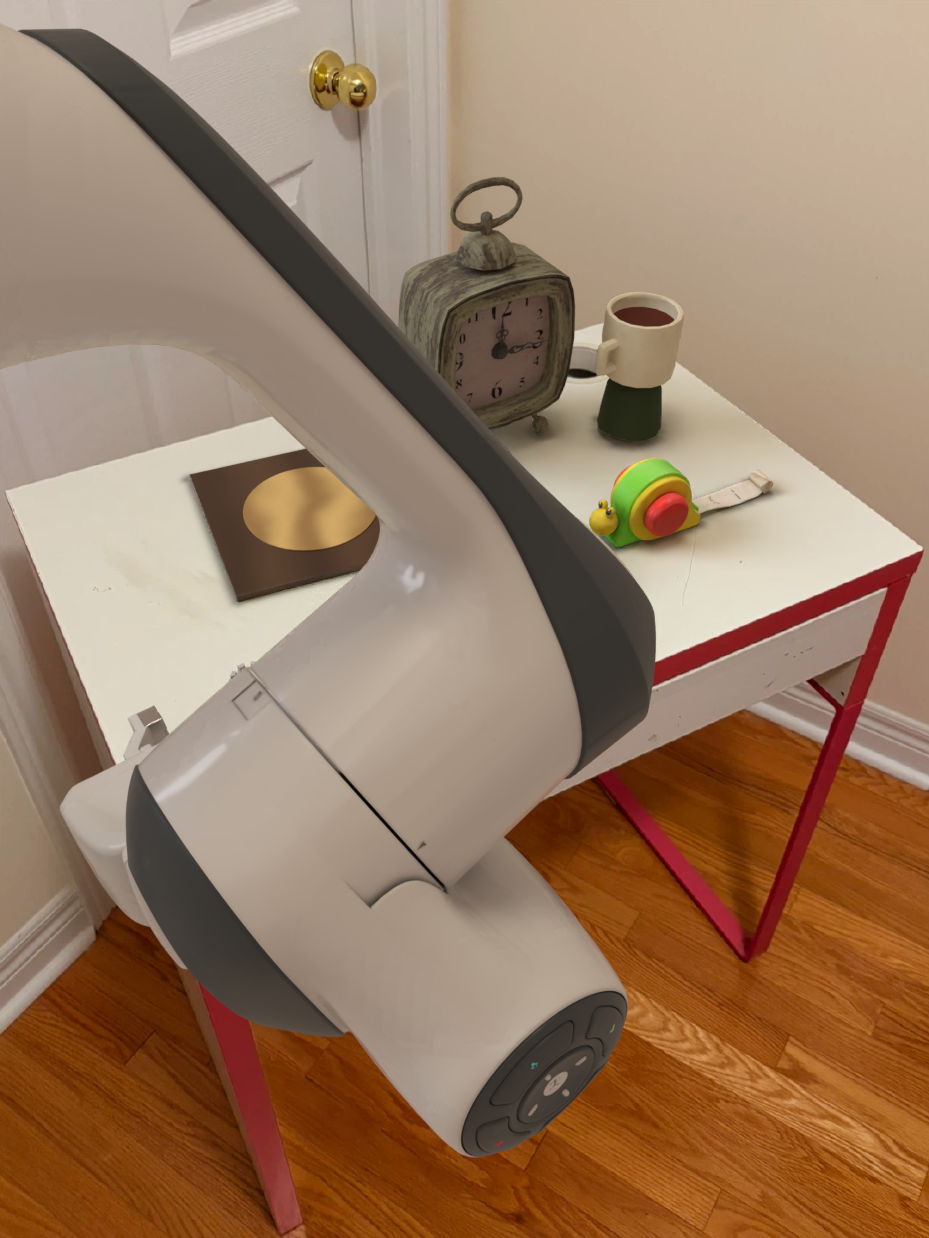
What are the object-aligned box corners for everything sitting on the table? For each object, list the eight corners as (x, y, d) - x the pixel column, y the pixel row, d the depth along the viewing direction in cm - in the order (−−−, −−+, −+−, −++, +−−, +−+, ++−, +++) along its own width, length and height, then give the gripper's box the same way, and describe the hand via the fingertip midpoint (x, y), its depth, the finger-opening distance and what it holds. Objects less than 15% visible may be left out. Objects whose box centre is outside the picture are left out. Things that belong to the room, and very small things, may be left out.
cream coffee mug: (641, 396, 109) (658, 278, 100) (691, 427, 105) (714, 307, 96) (563, 432, 104) (574, 312, 95) (613, 466, 100) (629, 343, 91)
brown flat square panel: (237, 602, 86) (236, 595, 85) (190, 479, 98) (189, 473, 97) (441, 548, 91) (441, 542, 90) (373, 438, 103) (372, 432, 102)
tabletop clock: (437, 478, 98) (435, 215, 81) (392, 430, 104) (381, 175, 86) (565, 435, 104) (589, 180, 86) (516, 392, 109) (529, 144, 92)
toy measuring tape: (569, 526, 93) (575, 466, 89) (743, 468, 100) (757, 409, 95) (608, 568, 89) (617, 507, 85) (787, 505, 96) (804, 445, 91)
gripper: (524, 655, 47) (382, 552, 58) (89, 889, 40) (17, 722, 51) (544, 760, 51) (407, 644, 61) (147, 993, 43) (68, 816, 54)
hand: (228, 681), depth 56 cm, fingers open, 8 cm apart
